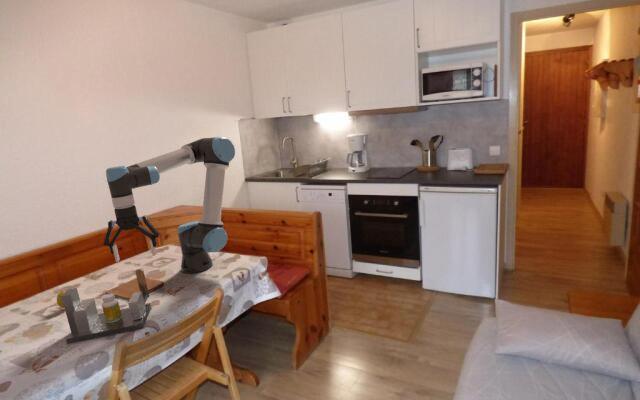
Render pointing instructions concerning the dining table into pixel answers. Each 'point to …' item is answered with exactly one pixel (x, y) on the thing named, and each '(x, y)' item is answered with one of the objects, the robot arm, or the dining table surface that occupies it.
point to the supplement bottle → (111, 308)
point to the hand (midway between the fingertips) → (136, 257)
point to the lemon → (60, 299)
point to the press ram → (139, 297)
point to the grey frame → (95, 319)
